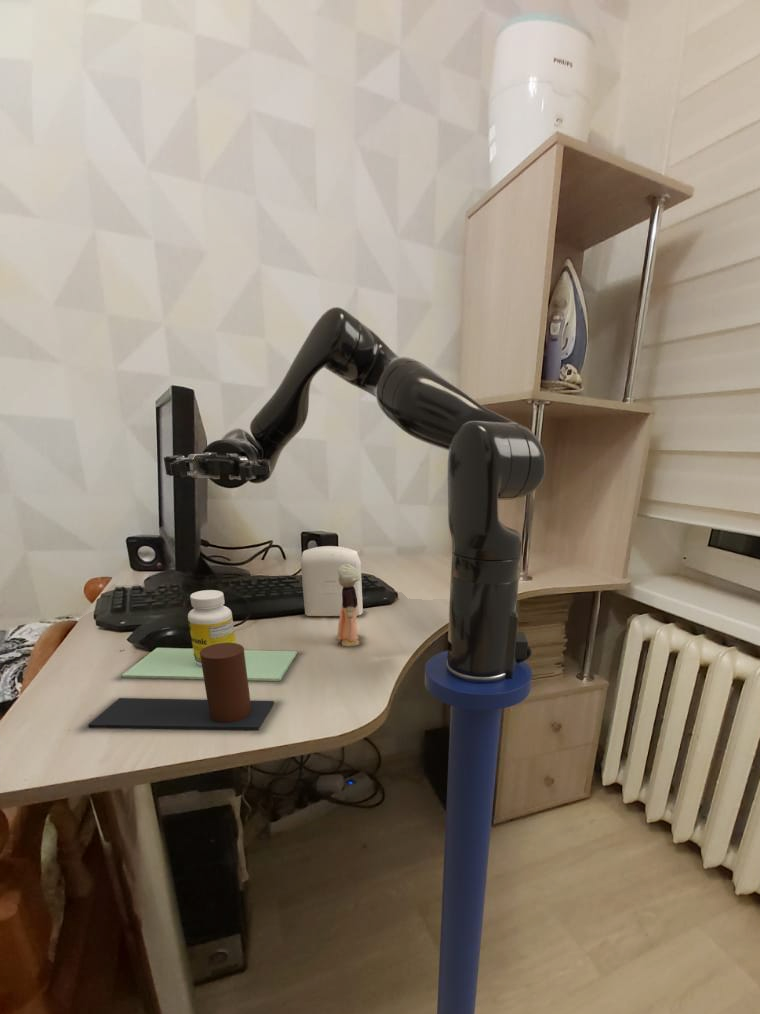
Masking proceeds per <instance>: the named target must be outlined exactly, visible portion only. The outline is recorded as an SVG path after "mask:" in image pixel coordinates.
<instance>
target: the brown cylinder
mask: <svg viewBox="0 0 760 1014" xmlns="http://www.w3.org/2000/svg"><path fill="white" fill-rule="evenodd" d="M244 650H245V647H244V646H243V645H242V644H241V643H237V642H236V643H219V644H214V645H210V646H207V647H205V648H203V649H202V650H201V651H200V658H201V664H202V670H203V676H204V679H203V682H204V689H205V695H206V700H207V701H208V708H209V714H210V718H211V719H212V720H214V721H216V722H222V723H227V722H234V721H238V720H241V719H243V718H245V717H247V716H248V715H249V714H250V713H251V702H250V701H251V696H250V687H249V680H248V678H247V670H246V662H245V654H244Z"/></svg>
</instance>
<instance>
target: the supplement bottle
mask: <svg viewBox="0 0 760 1014" xmlns="http://www.w3.org/2000/svg"><path fill="white" fill-rule="evenodd" d="M224 595H225V594H224V592H223V591H221V590H215V589H206V590H199V591H195V592H193V593H191V594H190V596H189V598H190V605H191V607H192V609H191V610H189V612H188V614H187V623H188V628H189V633H190V638H191V644H192V649H193V651H194V657H195V661H196V663H197V664H198V665H200V666H202V664H201V658H200V651H201V650H202V649H203V648H205V647H207V646H210V645H214V644H219V643H236V644H237V641H236V634H235V627H234V626H235V625H234V618H233V613H232V610H231V609H230V608H229V607H227V606H226V605H225V602H226V601H225V596H224Z"/></svg>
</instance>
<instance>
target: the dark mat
mask: <svg viewBox="0 0 760 1014" xmlns="http://www.w3.org/2000/svg"><path fill="white" fill-rule="evenodd" d="M250 702H251V713H250V714H249V715H248V716H247V717H245V718H243V719H241V720H238V721H234V722H227V723H222V722H216V721H214V720H212V719H211V718H210V714H209V708H208V701H207V699H192V698H191V699H188V698H187V699H186V698H139V697H138V698H135V697H134V698H133V697H132V698H131V697H119V698H117V700H116V701H114V702H113V703H112V704H110V705H109V706H108V707H107V708H106V709H104V710H103V711H102V712H101V713H100V714H98V716H97V717H95V718H93V720H91V721H90V722H89V723H88V724H87V727H88V728H89V729H150V730H151V729H158V730H159V729H160V730H224V731H225V730H226V731H227V730H229V731H230V730H231V731H235V730H236V731H258V730H259V729H260V728H261V727H262V726H261V725H263V723H264V721H265V720H266V718H267V716H268V715H269V713H270V711H271V710H272V708H273V707H274V704H275V701H274V700H250Z"/></svg>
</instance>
